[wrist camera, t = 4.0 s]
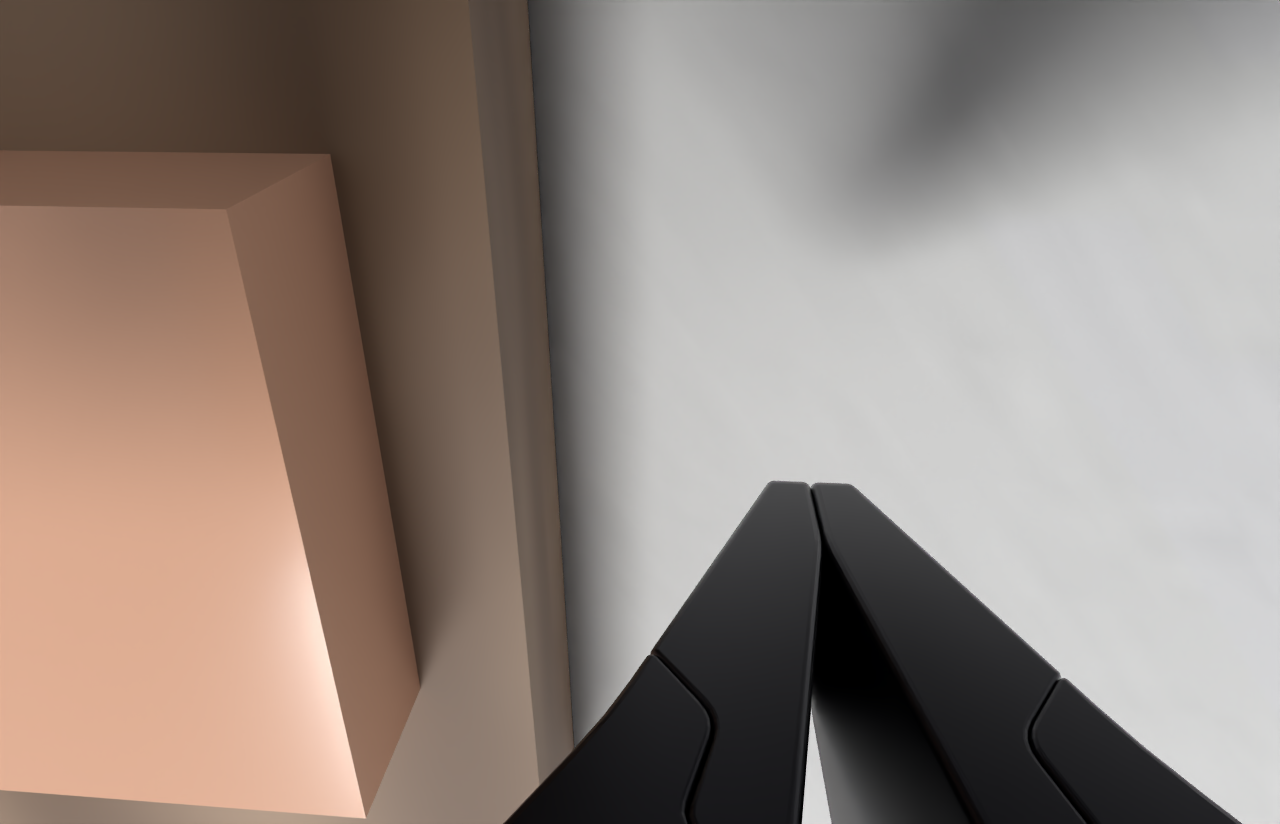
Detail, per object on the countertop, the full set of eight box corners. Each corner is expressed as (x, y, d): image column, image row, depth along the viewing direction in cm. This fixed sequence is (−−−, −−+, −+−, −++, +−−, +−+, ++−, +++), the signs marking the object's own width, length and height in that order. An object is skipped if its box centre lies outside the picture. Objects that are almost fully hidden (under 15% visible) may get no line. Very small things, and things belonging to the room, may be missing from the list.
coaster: (330, 154, 9) (225, 209, 7) (420, 688, 12) (365, 818, 10) (-323, 147, 9) (-571, 196, 7) (-66, 657, 12) (-196, 774, 11)
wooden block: (503, -376, 9) (424, -486, 6) (575, 775, 16) (550, 907, 14) (-746, -323, 10) (-1175, -400, 8) (-139, 723, 17) (-265, 837, 15)
